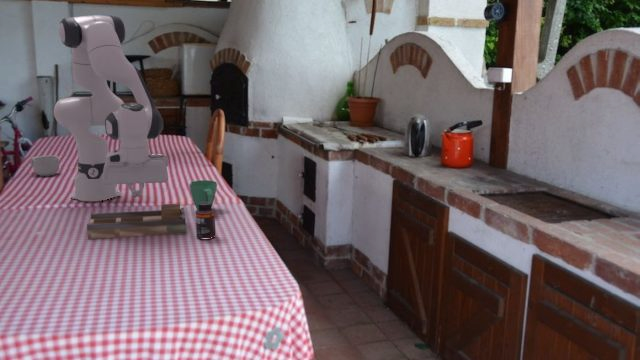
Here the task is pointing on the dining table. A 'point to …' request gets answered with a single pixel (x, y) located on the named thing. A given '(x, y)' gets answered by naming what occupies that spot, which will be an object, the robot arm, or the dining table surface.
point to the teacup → (45, 165)
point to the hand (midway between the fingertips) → (136, 196)
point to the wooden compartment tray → (133, 224)
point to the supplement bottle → (205, 220)
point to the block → (170, 211)
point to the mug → (203, 191)
